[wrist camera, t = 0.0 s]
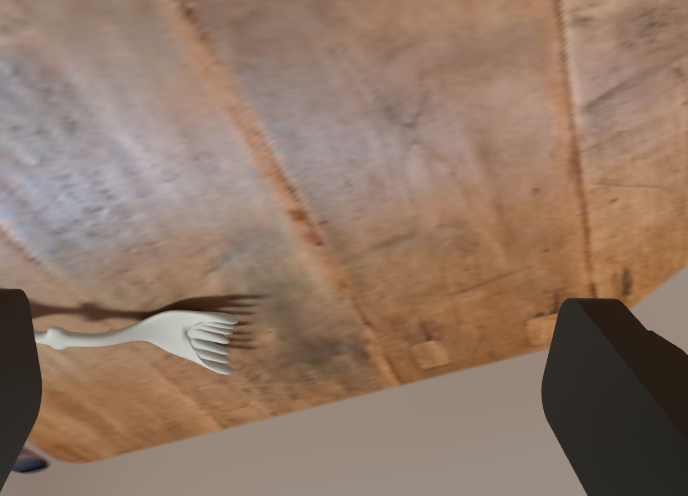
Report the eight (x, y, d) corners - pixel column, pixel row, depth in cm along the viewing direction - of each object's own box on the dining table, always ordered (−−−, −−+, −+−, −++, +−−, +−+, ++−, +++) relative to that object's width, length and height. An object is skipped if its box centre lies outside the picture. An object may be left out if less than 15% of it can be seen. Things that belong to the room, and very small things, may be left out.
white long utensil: (234, 349, 65) (232, 379, 63) (-120, 329, 60) (-137, 361, 57) (240, 293, 59) (238, 324, 57) (-155, 264, 53) (-176, 297, 51)
